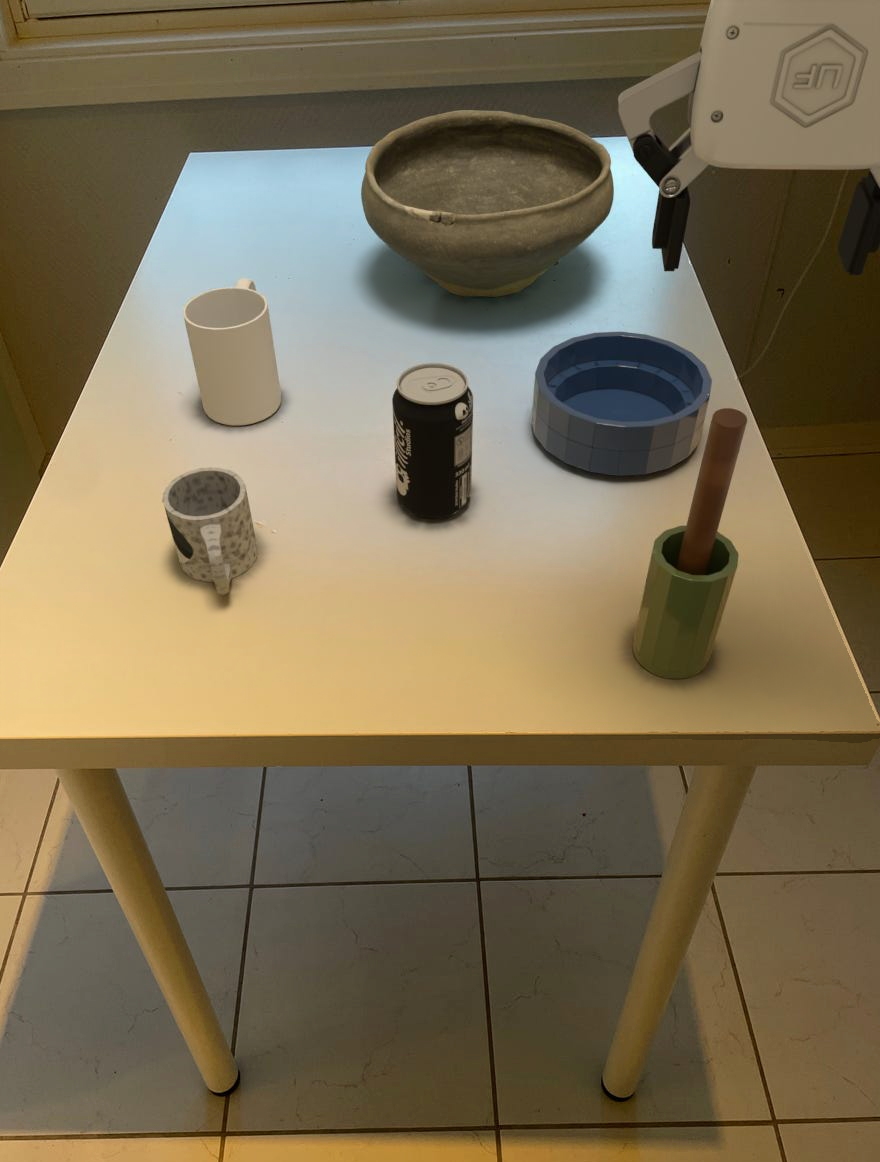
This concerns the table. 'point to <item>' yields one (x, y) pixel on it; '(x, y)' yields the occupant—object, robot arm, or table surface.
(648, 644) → the utensil crock
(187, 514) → the mug
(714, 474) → the cooking stick
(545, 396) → the mixing bowl
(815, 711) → the table surface
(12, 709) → the table surface
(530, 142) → the bowl
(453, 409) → the beverage can
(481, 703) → the table surface
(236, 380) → the mug
